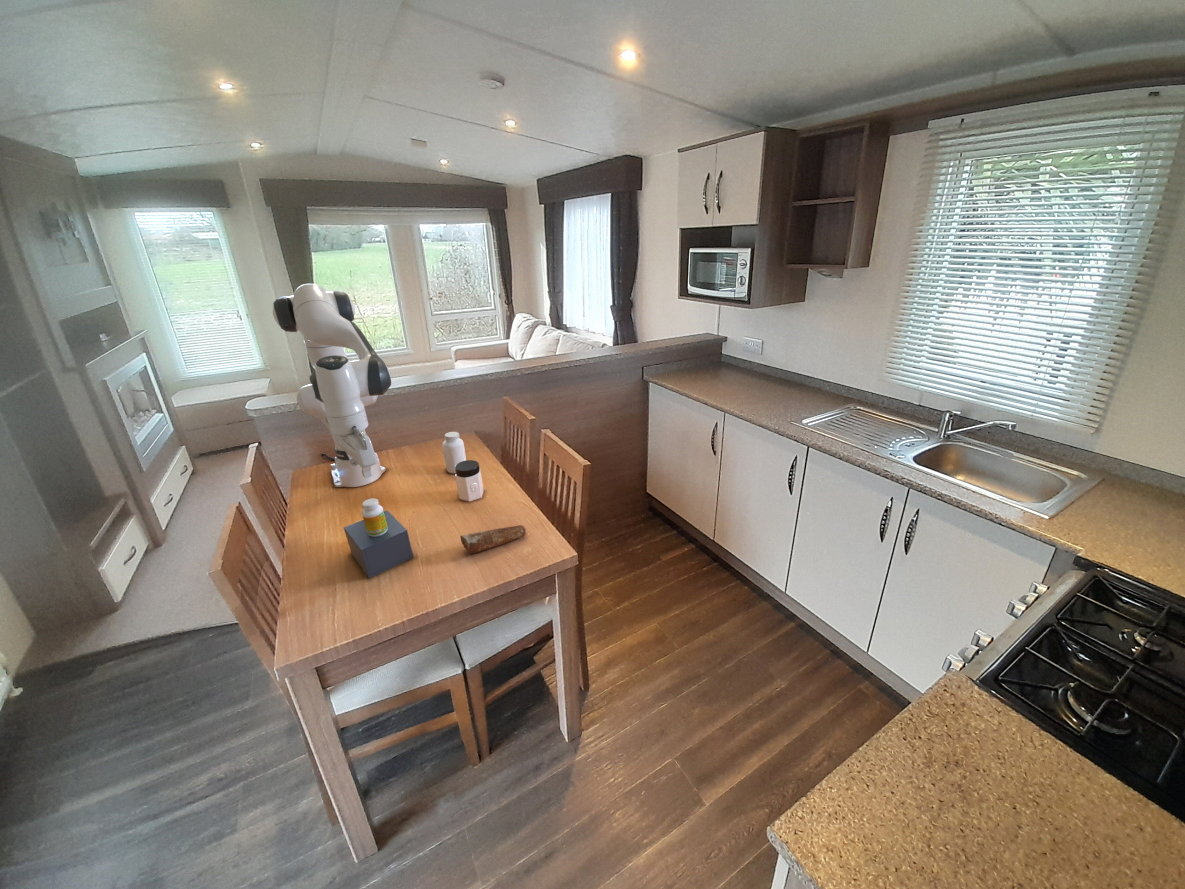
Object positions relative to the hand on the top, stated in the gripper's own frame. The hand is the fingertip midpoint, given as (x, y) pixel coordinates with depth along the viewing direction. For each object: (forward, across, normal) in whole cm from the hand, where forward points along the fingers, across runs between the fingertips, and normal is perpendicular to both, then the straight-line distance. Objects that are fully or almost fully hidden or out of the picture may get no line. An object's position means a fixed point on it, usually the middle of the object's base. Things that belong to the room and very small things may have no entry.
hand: (361, 470), depth 125 cm
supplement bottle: (+20, 0, 0) cm, 20 cm away
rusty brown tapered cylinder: (+29, -16, -27) cm, 43 cm away
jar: (+29, +14, -36) cm, 49 cm away
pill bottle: (+29, +36, -42) cm, 63 cm away
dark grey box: (+29, +2, 0) cm, 29 cm away
